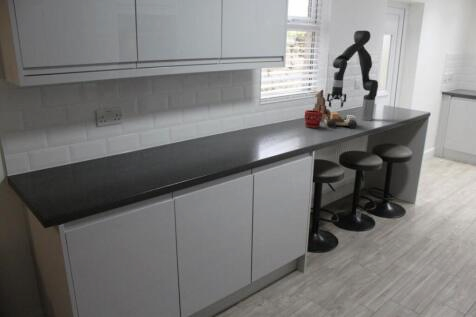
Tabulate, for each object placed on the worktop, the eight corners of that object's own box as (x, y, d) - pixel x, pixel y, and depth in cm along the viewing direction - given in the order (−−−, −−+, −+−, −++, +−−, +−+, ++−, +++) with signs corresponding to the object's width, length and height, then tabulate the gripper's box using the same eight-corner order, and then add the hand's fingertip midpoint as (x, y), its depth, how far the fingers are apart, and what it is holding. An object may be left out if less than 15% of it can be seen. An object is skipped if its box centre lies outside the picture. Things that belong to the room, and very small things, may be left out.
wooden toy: (330, 121, 319) (333, 90, 311) (325, 122, 314) (328, 91, 307) (315, 118, 330) (317, 88, 322) (310, 119, 325) (312, 88, 318)
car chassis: (323, 122, 313) (324, 113, 311) (351, 123, 312) (352, 114, 310) (327, 127, 297) (328, 117, 295) (356, 128, 296) (357, 118, 294)
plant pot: (322, 128, 292) (324, 113, 288) (305, 128, 292) (306, 112, 288) (319, 125, 304) (320, 109, 301) (302, 124, 304) (303, 109, 301)
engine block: (330, 119, 307) (330, 112, 305) (336, 120, 307) (337, 112, 305) (331, 121, 300) (332, 114, 299) (338, 121, 300) (339, 114, 298)
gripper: (346, 85, 299) (344, 106, 304) (327, 85, 299) (325, 106, 304) (348, 86, 292) (346, 108, 297) (329, 86, 292) (327, 107, 297)
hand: (335, 107), depth 301 cm, fingers open, 8 cm apart
